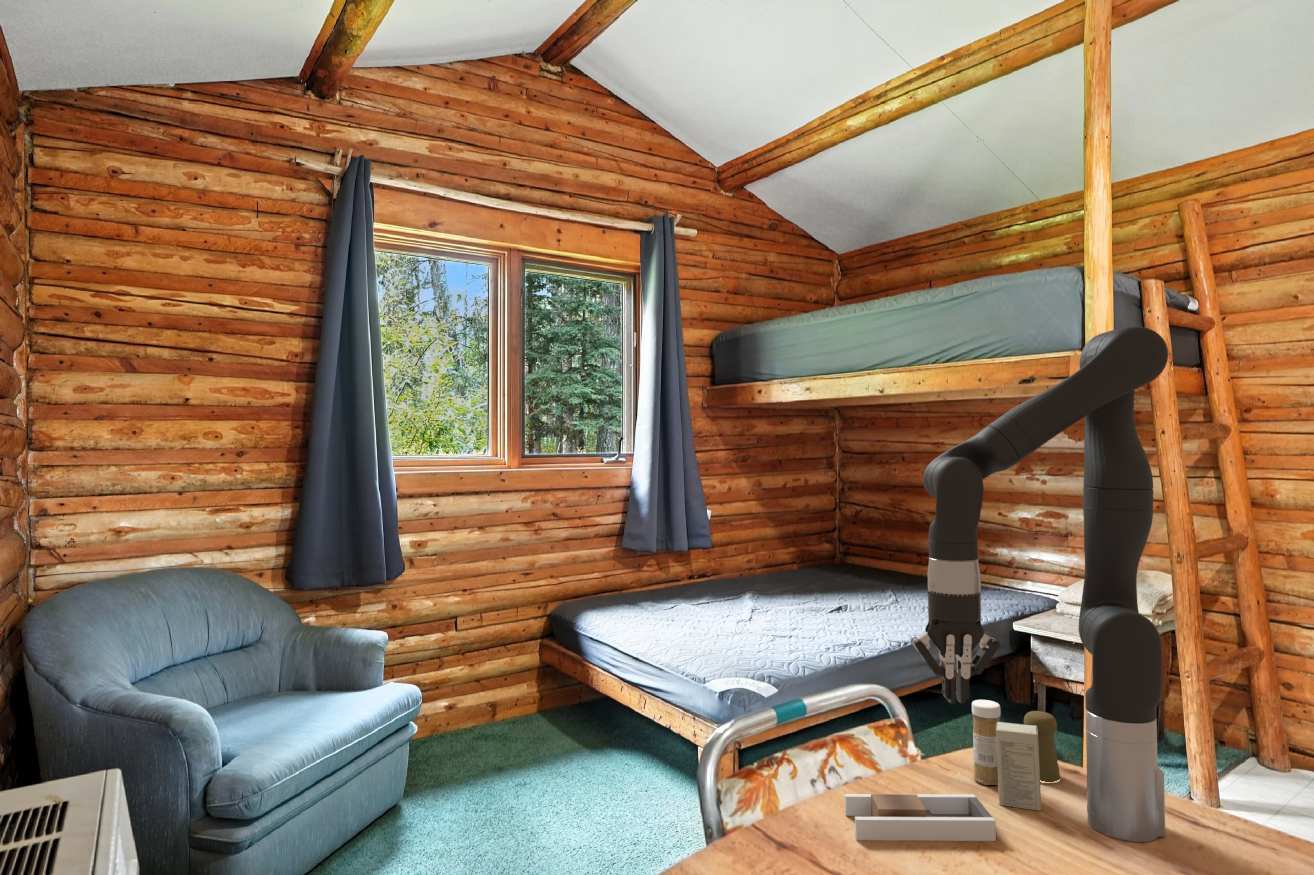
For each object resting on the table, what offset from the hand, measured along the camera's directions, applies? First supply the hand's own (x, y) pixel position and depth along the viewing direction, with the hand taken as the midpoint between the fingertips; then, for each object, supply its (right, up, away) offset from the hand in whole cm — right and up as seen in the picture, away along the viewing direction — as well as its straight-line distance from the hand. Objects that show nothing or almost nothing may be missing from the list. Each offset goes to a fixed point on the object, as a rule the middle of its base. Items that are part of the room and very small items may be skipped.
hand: (955, 701), depth 118 cm
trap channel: (-6, -19, 0) cm, 20 cm away
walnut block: (-9, -19, 0) cm, 21 cm away
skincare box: (+13, -19, +7) cm, 24 cm away
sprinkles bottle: (+11, -19, +15) cm, 27 cm away
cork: (+21, -19, +17) cm, 33 cm away
